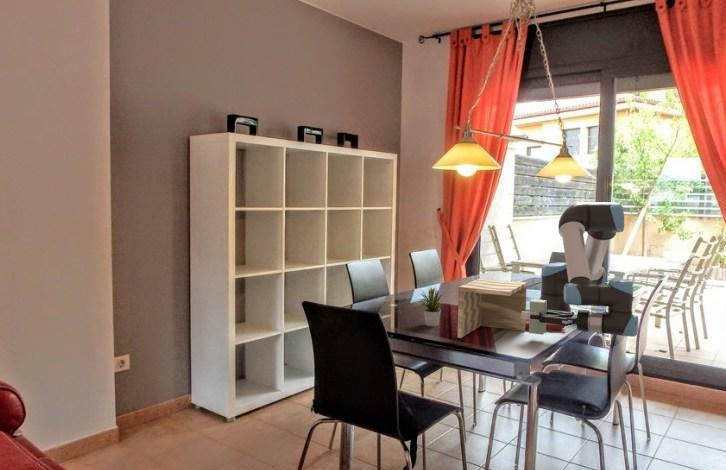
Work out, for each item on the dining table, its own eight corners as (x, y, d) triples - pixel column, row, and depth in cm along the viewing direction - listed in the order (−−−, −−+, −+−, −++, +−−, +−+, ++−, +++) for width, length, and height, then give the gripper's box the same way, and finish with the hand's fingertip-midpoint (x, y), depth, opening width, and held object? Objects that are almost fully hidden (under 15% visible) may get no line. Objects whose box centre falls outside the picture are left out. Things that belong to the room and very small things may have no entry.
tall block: (532, 330, 204) (533, 299, 204) (545, 331, 202) (546, 300, 201) (529, 332, 200) (529, 301, 199) (542, 334, 198) (543, 302, 197)
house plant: (411, 320, 232) (411, 283, 231) (442, 320, 233) (443, 283, 232) (416, 328, 218) (417, 288, 217) (450, 328, 219) (450, 288, 218)
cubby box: (478, 324, 226) (479, 278, 224) (525, 330, 216) (526, 282, 214) (457, 337, 205) (458, 286, 203) (508, 344, 195) (509, 291, 193)
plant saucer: (514, 320, 234) (514, 313, 234) (557, 322, 232) (558, 314, 231) (520, 331, 217) (520, 323, 216) (566, 333, 214) (567, 324, 214)
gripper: (585, 337, 184) (517, 328, 196) (593, 326, 199) (529, 318, 211) (585, 315, 183) (517, 308, 195) (593, 306, 199) (529, 299, 211)
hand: (523, 313), depth 203 cm, fingers closed on tall block, 5 cm apart
